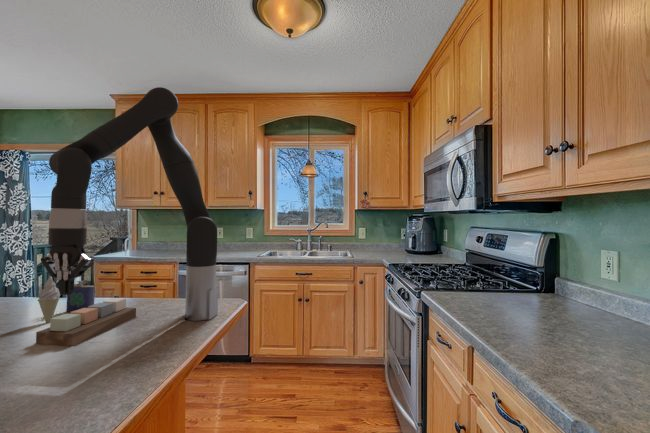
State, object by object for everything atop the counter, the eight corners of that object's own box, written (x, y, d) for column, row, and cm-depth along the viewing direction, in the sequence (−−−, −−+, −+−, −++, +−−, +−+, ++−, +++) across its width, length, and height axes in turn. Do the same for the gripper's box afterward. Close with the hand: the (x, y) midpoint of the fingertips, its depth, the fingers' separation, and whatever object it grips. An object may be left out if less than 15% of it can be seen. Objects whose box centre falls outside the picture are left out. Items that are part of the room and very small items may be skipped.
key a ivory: (125, 308, 97) (126, 298, 97) (115, 311, 93) (116, 302, 93) (113, 307, 98) (113, 298, 98) (102, 311, 93) (103, 301, 94)
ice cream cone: (63, 324, 94) (64, 274, 94) (43, 329, 89) (45, 277, 89) (52, 322, 95) (54, 273, 95) (32, 327, 90) (34, 276, 91)
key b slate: (112, 313, 92) (112, 303, 92) (101, 317, 88) (101, 307, 88) (99, 312, 92) (99, 302, 92) (87, 317, 88) (87, 306, 88)
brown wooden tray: (137, 320, 98) (138, 307, 98) (74, 350, 75) (75, 334, 75) (105, 319, 99) (105, 306, 99) (33, 348, 76) (33, 332, 76)
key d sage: (80, 325, 81) (80, 314, 81) (65, 331, 77) (66, 319, 77) (65, 325, 81) (65, 313, 81) (50, 330, 77) (50, 318, 77)
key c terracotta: (97, 319, 86) (97, 308, 86) (84, 324, 82) (85, 312, 82) (83, 318, 87) (83, 307, 87) (70, 323, 82) (70, 312, 83)
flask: (96, 311, 107) (96, 280, 107) (89, 313, 104) (89, 281, 105) (70, 310, 108) (71, 279, 108) (63, 312, 105) (63, 281, 105)
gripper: (104, 226, 83) (102, 291, 82) (58, 225, 84) (56, 289, 83) (79, 227, 75) (77, 298, 75) (29, 226, 76) (27, 296, 76)
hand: (66, 294), depth 79 cm, fingers closed
